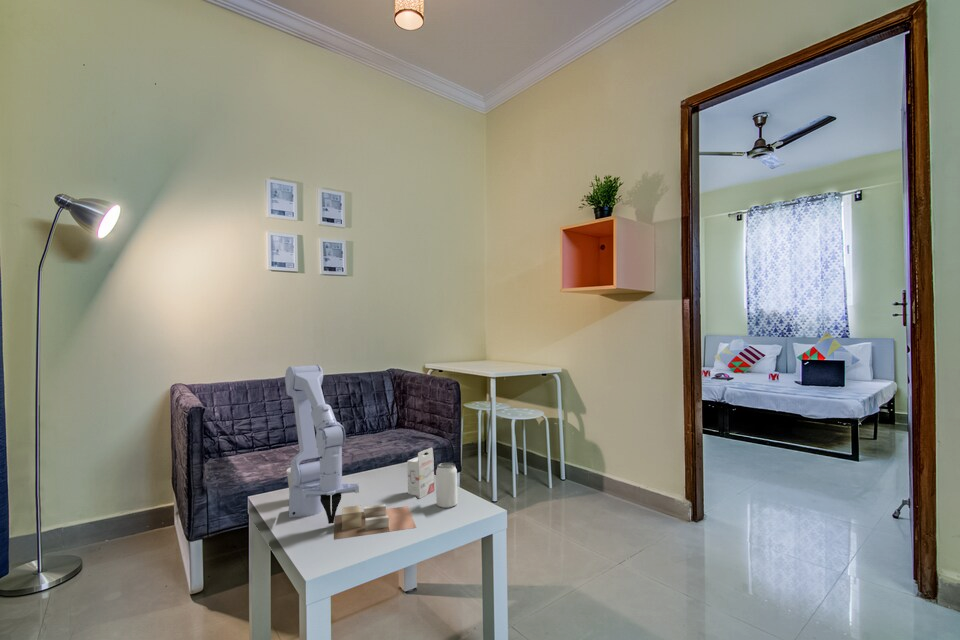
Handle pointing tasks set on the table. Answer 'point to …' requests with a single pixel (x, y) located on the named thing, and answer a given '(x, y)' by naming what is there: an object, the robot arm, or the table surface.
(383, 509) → the board
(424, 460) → the ink cartridge box
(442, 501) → the can
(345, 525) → the maple block
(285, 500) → the table surface
